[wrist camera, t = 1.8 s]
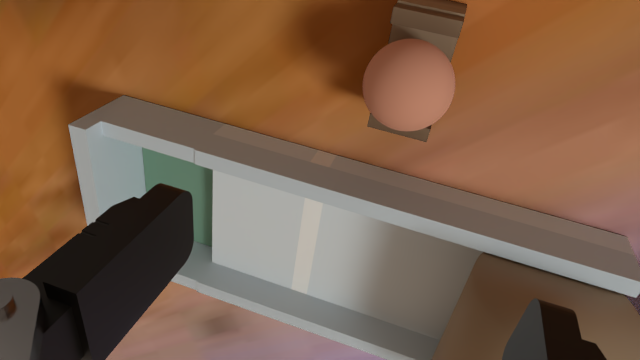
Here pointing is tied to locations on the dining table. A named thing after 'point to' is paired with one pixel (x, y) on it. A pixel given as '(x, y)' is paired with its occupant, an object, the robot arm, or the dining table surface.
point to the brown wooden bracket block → (425, 37)
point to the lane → (364, 242)
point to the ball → (408, 85)
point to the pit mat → (184, 187)
